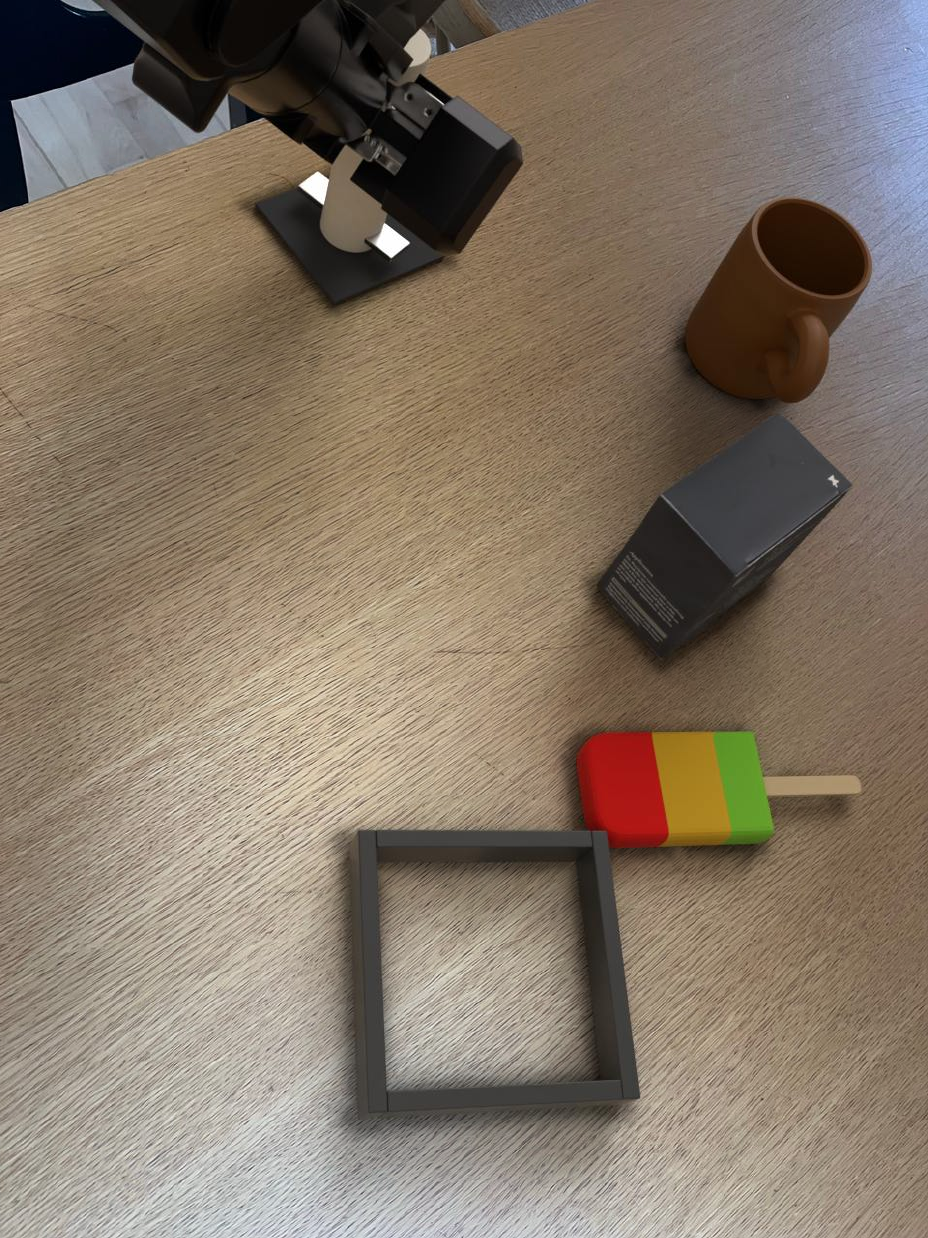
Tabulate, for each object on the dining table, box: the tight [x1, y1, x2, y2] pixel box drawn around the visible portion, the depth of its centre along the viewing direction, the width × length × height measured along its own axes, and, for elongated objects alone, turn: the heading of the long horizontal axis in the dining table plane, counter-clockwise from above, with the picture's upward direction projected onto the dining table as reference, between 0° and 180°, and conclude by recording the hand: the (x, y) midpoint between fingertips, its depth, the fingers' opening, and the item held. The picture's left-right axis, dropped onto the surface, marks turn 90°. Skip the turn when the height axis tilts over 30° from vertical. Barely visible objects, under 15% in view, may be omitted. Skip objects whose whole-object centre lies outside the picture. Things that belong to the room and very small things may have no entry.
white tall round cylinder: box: [296, 28, 432, 262], centre depth 68 cm, size 7×4×13 cm, turn 53°
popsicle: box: [576, 731, 862, 849], centre depth 62 cm, size 6×15×2 cm, turn 96°
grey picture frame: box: [348, 829, 641, 1120], centre depth 55 cm, size 12×12×2 cm
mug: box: [684, 196, 873, 404], centre depth 72 cm, size 12×8×9 cm, turn 177°
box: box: [596, 412, 853, 660], centre depth 64 cm, size 9×6×10 cm, turn 131°
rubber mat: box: [254, 175, 445, 306], centre depth 73 cm, size 8×8×1 cm
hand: (387, 130), depth 68 cm, fingers closed on white tall round cylinder, 3 cm apart
